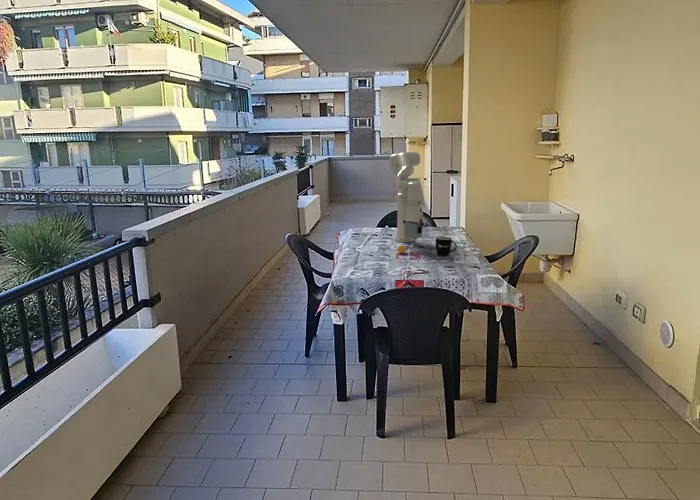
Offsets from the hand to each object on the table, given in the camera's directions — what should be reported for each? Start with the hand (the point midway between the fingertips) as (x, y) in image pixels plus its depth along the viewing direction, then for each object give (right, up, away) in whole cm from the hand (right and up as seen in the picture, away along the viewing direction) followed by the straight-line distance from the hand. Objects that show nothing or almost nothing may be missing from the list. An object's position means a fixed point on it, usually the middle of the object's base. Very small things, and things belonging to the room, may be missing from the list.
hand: (413, 232), depth 300 cm
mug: (+17, -14, -12) cm, 25 cm away
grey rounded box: (0, -3, +1) cm, 3 cm away
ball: (-8, -10, -8) cm, 15 cm away
